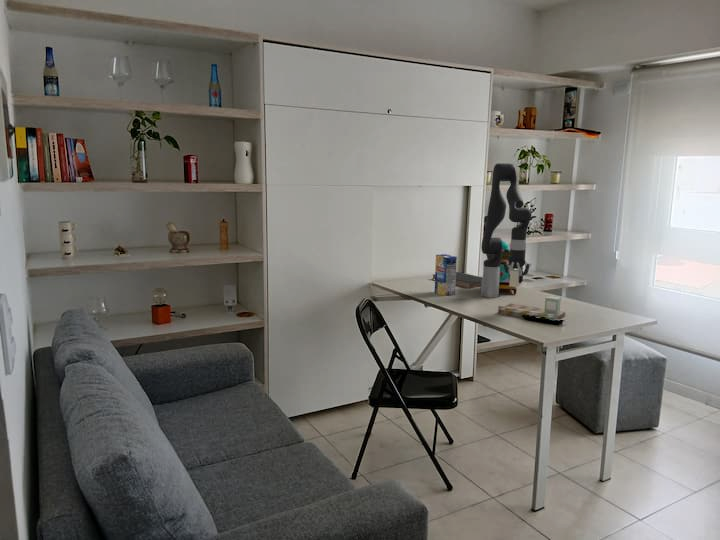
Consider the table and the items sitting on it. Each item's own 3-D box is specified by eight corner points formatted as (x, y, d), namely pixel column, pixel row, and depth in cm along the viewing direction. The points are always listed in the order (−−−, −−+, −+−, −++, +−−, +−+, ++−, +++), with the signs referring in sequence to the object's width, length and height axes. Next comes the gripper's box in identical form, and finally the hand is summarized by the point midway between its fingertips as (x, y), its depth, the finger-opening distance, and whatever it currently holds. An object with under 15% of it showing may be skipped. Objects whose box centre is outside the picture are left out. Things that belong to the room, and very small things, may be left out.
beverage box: (445, 296, 314) (446, 257, 310) (434, 292, 324) (435, 254, 320) (455, 295, 317) (456, 256, 313) (444, 291, 327) (445, 254, 323)
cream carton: (513, 284, 282) (514, 268, 281) (521, 285, 280) (522, 269, 278) (508, 286, 278) (509, 270, 276) (517, 287, 275) (518, 271, 274)
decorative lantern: (482, 293, 321) (485, 242, 316) (481, 287, 340) (484, 238, 335) (518, 295, 317) (522, 243, 312) (515, 288, 337) (518, 239, 331)
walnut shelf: (497, 313, 277) (498, 306, 277) (510, 307, 290) (510, 300, 290) (554, 322, 261) (555, 315, 260) (565, 315, 274) (565, 308, 273)
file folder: (432, 274, 361) (459, 271, 375) (432, 280, 362) (458, 277, 375) (469, 282, 334) (496, 279, 348) (469, 289, 335) (496, 285, 349)
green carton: (544, 313, 269) (545, 297, 268) (547, 312, 273) (548, 296, 271) (556, 315, 266) (558, 299, 265) (559, 314, 269) (560, 297, 268)
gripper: (501, 247, 276) (499, 281, 280) (529, 250, 268) (526, 285, 271) (506, 246, 282) (504, 279, 285) (534, 249, 274) (532, 283, 277)
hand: (515, 282), depth 278 cm, fingers closed on cream carton, 4 cm apart
